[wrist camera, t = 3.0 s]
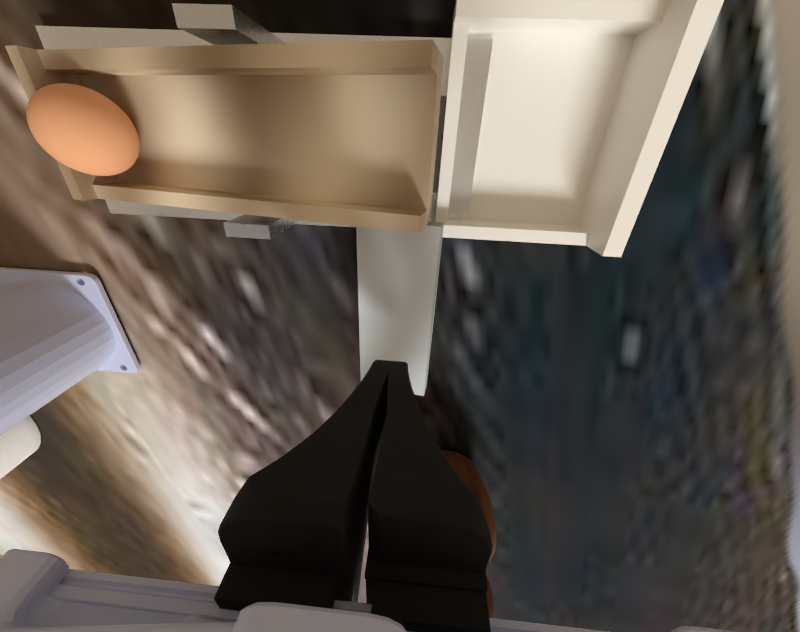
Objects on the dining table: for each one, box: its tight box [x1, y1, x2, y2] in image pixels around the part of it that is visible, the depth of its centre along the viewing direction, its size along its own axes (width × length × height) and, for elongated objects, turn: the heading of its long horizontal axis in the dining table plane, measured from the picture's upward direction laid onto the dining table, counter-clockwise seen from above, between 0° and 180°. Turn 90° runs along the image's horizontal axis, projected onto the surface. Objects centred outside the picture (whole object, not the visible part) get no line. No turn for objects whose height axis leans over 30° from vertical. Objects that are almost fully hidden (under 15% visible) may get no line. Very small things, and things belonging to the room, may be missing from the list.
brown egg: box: [26, 83, 140, 176], centre depth 13 cm, size 3×3×3 cm
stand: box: [35, 3, 493, 239], centre depth 14 cm, size 20×8×4 cm, turn 88°
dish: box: [435, 0, 724, 257], centre depth 13 cm, size 8×9×4 cm
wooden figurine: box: [441, 450, 496, 618], centre depth 20 cm, size 7×6×15 cm
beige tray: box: [5, 39, 444, 396], centre depth 14 cm, size 17×15×3 cm
